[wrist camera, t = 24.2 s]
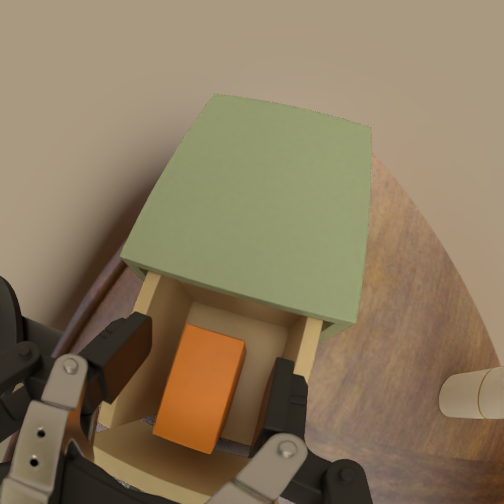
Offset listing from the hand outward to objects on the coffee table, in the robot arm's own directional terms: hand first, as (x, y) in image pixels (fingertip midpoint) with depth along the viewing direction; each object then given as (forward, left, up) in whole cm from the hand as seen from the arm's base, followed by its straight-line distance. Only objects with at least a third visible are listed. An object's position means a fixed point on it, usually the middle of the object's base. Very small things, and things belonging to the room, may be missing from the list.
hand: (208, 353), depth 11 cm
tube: (+22, +1, -11) cm, 24 cm away
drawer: (0, -4, -10) cm, 11 cm away
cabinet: (0, +10, -11) cm, 14 cm away
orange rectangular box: (0, -2, -9) cm, 9 cm away
